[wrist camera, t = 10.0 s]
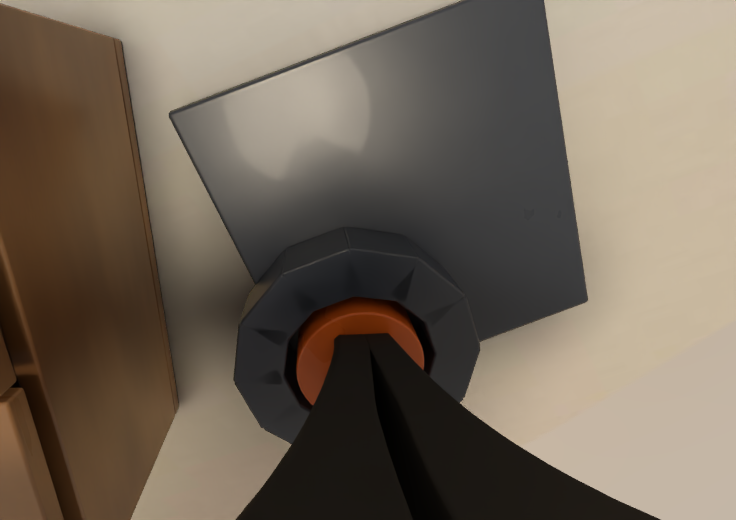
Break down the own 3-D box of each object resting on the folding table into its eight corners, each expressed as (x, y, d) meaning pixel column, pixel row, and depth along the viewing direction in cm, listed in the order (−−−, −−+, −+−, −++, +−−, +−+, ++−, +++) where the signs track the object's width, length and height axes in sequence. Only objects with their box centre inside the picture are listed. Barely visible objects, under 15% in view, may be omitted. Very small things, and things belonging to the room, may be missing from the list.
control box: (570, 310, 14) (632, 361, 11) (298, 411, 14) (295, 486, 12) (515, -16, 10) (588, -57, 8) (143, 125, 10) (83, 135, 8)
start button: (422, 356, 12) (439, 395, 11) (323, 393, 12) (324, 437, 11) (390, 265, 11) (403, 293, 10) (279, 306, 11) (274, 341, 10)
